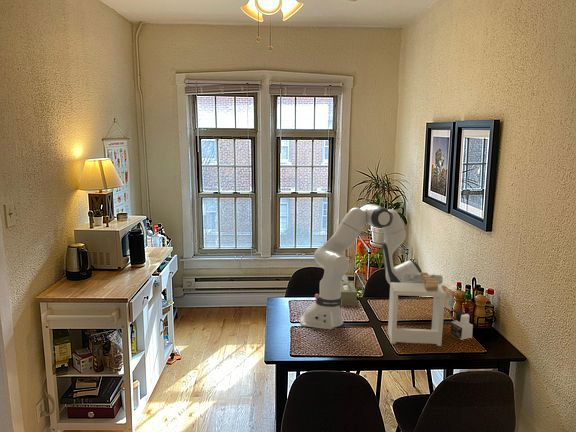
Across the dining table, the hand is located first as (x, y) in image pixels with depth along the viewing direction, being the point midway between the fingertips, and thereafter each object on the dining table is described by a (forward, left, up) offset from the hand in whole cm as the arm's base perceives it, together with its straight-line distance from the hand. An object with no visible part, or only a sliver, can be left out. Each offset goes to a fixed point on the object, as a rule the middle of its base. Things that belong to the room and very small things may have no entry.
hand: (424, 275), depth 224 cm
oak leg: (0, -8, -2) cm, 8 cm away
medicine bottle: (+17, -8, -28) cm, 34 cm away
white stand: (-6, -13, -28) cm, 31 cm away
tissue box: (-36, +37, -28) cm, 59 cm away
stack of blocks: (+21, +35, -28) cm, 50 cm away
